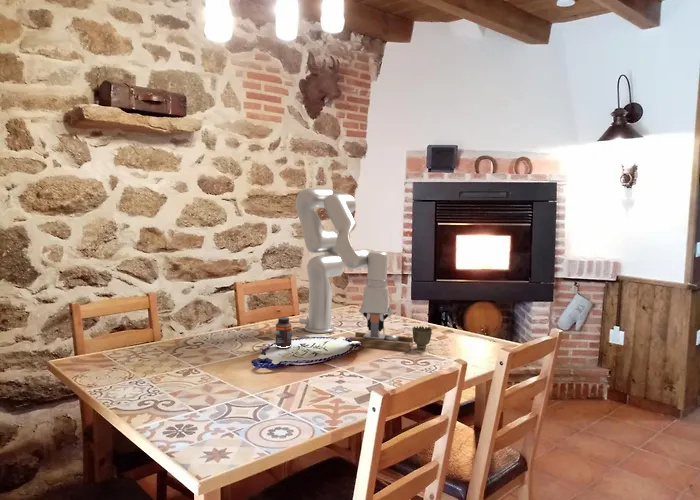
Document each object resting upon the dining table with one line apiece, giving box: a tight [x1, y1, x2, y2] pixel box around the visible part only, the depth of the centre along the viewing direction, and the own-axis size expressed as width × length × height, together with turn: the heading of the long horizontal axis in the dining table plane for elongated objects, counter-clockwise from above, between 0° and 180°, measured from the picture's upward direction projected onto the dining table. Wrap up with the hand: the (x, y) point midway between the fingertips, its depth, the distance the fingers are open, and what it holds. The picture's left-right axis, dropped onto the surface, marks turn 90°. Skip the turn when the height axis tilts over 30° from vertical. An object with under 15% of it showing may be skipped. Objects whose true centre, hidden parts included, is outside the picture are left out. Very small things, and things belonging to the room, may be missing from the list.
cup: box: [411, 325, 433, 350], centre depth 214 cm, size 8×7×8 cm
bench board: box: [349, 331, 414, 352], centre depth 218 cm, size 23×10×3 cm, turn 75°
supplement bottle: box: [275, 316, 293, 347], centre depth 210 cm, size 6×6×11 cm
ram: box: [363, 313, 399, 342], centre depth 217 cm, size 13×6×10 cm, turn 75°
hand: (375, 329), depth 218 cm, fingers closed on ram, 3 cm apart
